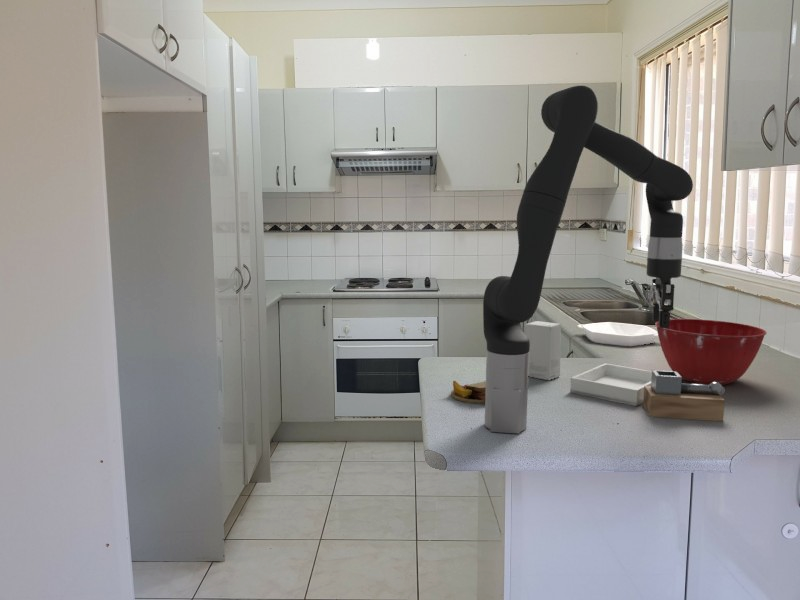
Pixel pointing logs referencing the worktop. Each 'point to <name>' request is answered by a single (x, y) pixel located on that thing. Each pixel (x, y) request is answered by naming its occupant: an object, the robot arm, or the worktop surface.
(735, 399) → the worktop surface
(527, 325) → the skincare box
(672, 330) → the mixing bowl
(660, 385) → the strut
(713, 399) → the stud block
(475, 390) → the toy sandwich meal
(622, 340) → the white serving platter
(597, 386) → the bin
